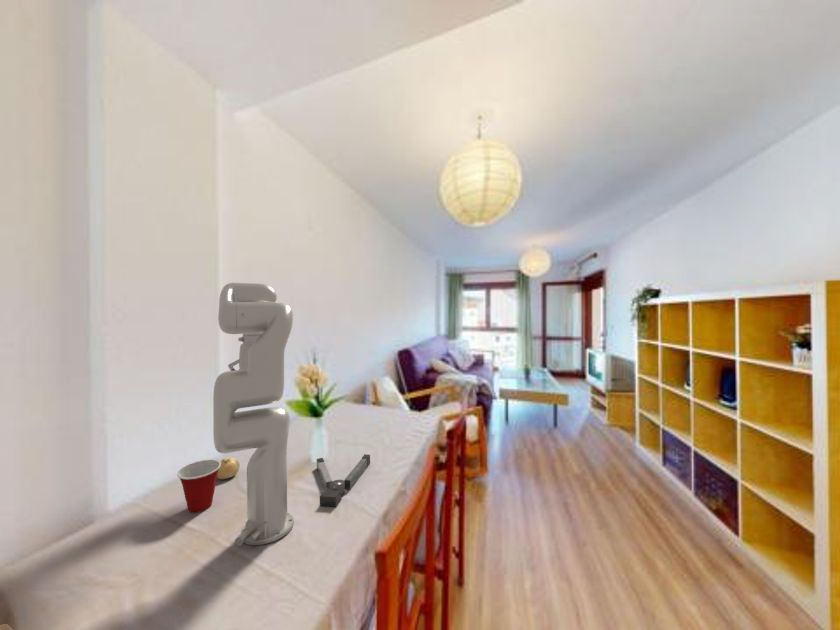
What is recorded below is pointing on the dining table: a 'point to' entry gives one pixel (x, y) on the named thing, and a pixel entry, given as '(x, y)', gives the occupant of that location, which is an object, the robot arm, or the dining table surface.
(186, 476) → the plastic cup
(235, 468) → the onion
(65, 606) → the dining table surface
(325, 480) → the tong jaw
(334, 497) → the tong fixed
